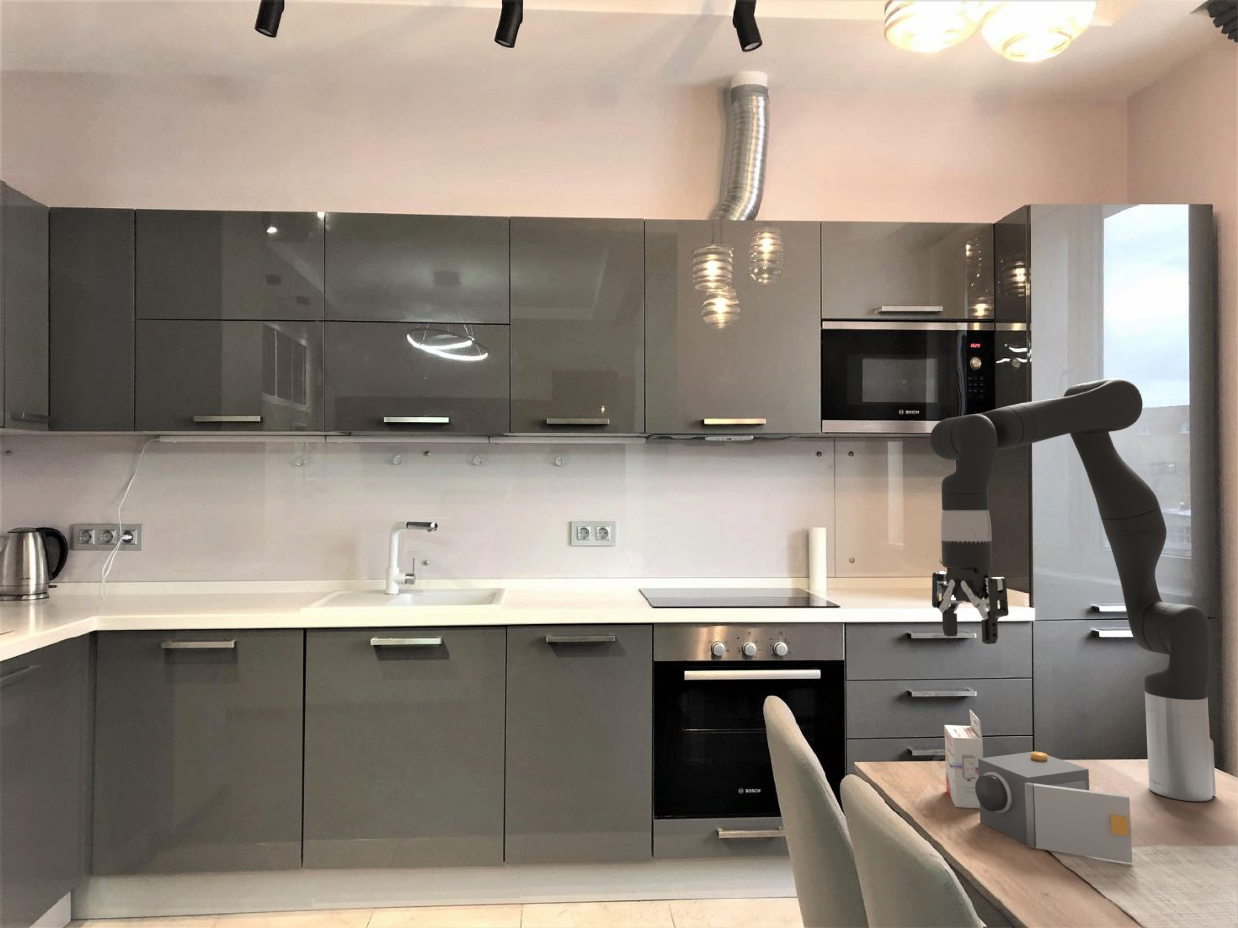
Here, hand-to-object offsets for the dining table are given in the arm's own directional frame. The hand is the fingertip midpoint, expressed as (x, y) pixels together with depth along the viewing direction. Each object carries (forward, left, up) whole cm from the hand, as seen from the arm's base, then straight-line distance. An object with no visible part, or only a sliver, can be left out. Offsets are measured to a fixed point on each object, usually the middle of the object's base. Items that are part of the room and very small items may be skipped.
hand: (969, 639), depth 130 cm
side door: (-6, +14, -29) cm, 33 cm away
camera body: (-8, +4, -29) cm, 31 cm away
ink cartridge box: (-7, -10, -30) cm, 32 cm away
